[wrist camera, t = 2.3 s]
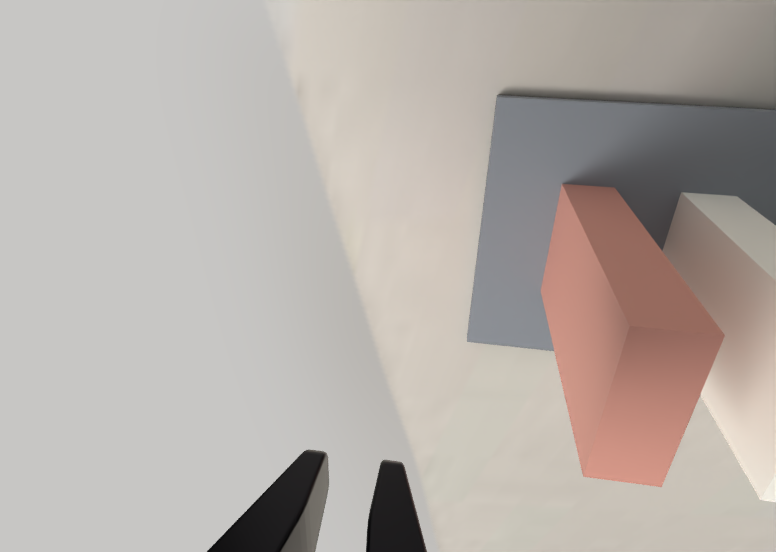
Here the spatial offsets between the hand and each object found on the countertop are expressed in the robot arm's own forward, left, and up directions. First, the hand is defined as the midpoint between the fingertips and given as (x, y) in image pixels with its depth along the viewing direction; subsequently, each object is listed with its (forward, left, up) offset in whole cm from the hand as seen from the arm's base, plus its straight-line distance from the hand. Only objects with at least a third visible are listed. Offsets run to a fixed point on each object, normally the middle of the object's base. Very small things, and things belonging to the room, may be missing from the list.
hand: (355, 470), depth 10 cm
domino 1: (0, -6, -12) cm, 13 cm away
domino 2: (0, -10, -12) cm, 15 cm away
